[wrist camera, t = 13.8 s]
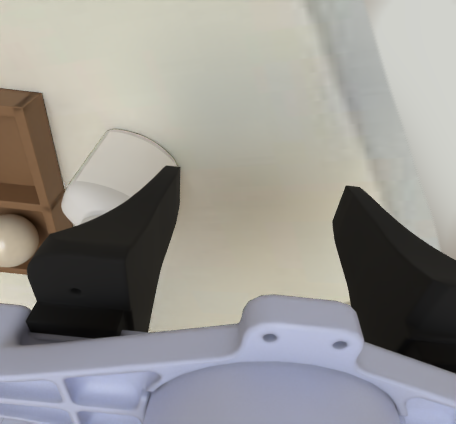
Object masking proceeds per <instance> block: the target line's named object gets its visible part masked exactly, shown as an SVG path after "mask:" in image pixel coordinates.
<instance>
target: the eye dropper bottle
mask: <svg viewBox="0 0 456 424" xmlns="http://www.w3.org/2000/svg"><path fill="white" fill-rule="evenodd" d="M166 165H167V166H176V167H177V164H176V162H175V160H174V159H173V157H172V156H171V155H170V154H169V153H168V152H167V151H166V150H164V149H163V148H162V147H161V146H159V145H158V144H156V143H155V142H153V141H152V140H150V139H148V138H146V137H144V136H142V135H139V134H136V133H133V132H129V131H125V130H119V129H112V130H108V131H107V132H106V133H105V134H104V135H103V137H102V138H101V139H100V141H99V142H98V143H97V145H96V146H95V148H94V149H93V150H92V152H91V153H90V155H89V156H88V157H87V159H86V160H85V162H84V163H83V164H82V166H81V167H80V169H79V170H78V171H77V173H76V174H75V176H74V177H73V179H72V180H71V182H70V183H69V185H68V187H67V189H66V191H65V193H64V196H63V199H62V203H61V208H62V211H63V213H64V214H65V216H66V217H67V218H68V219H69V220H70V221H71V222H72V223H73V224H74V225H75V226H77V225H80V224H82V223H85V222H88V221H90V220H92V219H95V218H97V217H99V216H101V215H103V214H105V213H107V212H108V211H110V210H112V209H114V208H116V207H117V206H119V205H121V204H122V203H124V202H125V201H127V200H128V199H129V198H131V197H132V196H133V195H134V194H136V193H137V192H138V191H139V190H141V189H142V188H143V187H144V186H145V185H146V184H147V183H148V182H149V181H151V180H152V179H153V178H154V177H155V176H156V175H157V174H158V173H159V172H160V171H161V169H162V168H163V167H165V166H166Z"/></svg>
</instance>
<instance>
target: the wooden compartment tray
mask: <svg viewBox="0 0 456 424" xmlns="http://www.w3.org/2000/svg"><path fill="white" fill-rule="evenodd" d="M64 193H65V191H64V187H63V183H62V178H61V174H60V170H59V166H58V161H57V157H56V153H55V148H54V144H53V140H52V135H51V131H50V127H49V123H48V118H47V114H46V110H45V105H44V101H43V97H42V93H36V92H28V91H19V90H11V89H2V88H0V215H2V214H16V215H20V216H23V217H25V218H27V219H28V220H30V221H31V222H32V223H33V224H34V225H35V227H36V229H37V231H38V234H39V246H38V248H37V250H38V249H39V247H40V246H41V244H42V243H43V242H44V240H45V239H46V238H47V237H48V236H49V234H51V233H55V232H58V231H61V230H65V229H68V228H71V227H73V226H72V222H71V221H70V220H69V219H68V218H67V217H66V216H65V214H64V213H63V211H62V208H61V203H62V199H63V196H64ZM36 252H37V251H36ZM36 252H35V253H36ZM34 255H35V254H34ZM34 255H33V256H34ZM33 256H32V257H31V258H30V259H29V260H28V261H26V262H25V263H23V264H21V265H18V266H15V267H0V272H7V273H17V274H26V275H27V267H28V264H29V262H30V261H31V259H32V258H33Z"/></svg>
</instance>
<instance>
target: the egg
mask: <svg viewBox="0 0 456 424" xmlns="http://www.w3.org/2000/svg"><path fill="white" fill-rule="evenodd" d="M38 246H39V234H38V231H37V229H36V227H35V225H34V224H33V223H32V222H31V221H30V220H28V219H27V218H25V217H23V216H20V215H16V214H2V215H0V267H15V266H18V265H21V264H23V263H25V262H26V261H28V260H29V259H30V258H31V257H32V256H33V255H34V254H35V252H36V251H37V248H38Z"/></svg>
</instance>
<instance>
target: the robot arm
mask: <svg viewBox="0 0 456 424" xmlns="http://www.w3.org/2000/svg"><path fill="white" fill-rule="evenodd" d="M179 205H180V167H176V166H167V165H166V166H165V167H163V168H162V169H161V171H160V172H159V173H158V174H157V175H156V176H155V177H154V178H153V179H152V180H151V181H149V182H148V183H147V184H146V185H145V186H144V187H143V188H142V189H141V190H139V191H138V192H137V193H136V194H134V195H133V196H132V197H131V198H129V199H128V200H127V201H125V202H124V203H122V204H121V205H119V206H117V207H116V208H114V209H112V210H110V211H108V212H107V213H105V214H103V215H101V216H99V217H97V218H95V219H92V220H90V221H88V222H85V223H82V224H80V225H77V226H74V227H71V228H68V229H65V230H61V231H58V232H55V233H51V234H49V236H48V237H47V238H46V239H45V240H44V242H43V243H42V244H41V246H40V247H39V249H38V250H37V252H36V253H35V255H34V256H33V258H32V259H31V261H30V262H29V264H28V267H27V275H28V279H29V282H30V284H31V287H32V289H33V292H34V295H35V297H36V300H37V302H36V304H35V306H34V308H33V309H32V311H31V310H30V309H29V308H27V307H25V306H21V305H13V304H3V303H0V424H456V260H454V259H452V258H450V257H449V256H447V255H445V254H443V253H442V252H440V251H438V250H437V249H435V248H433V247H432V246H430V245H429V244H427V243H426V242H424V241H423V240H421V239H420V238H418V237H417V236H416V235H414V234H413V233H412V232H410V231H409V230H408V229H406V228H405V227H404V226H403V225H401V224H400V223H399V222H398V221H397V220H395V219H394V218H393V217H392V216H391V215H390V214H389V213H388V212H386V211H385V210H384V209H383V208H382V207H381V206H380V205H379V204H378V203H377V202H376V201H375V200H374V199H373V198H372V197H371V196H369V195H368V194H367V193H366V192H365V191H364V190H363V189H361V188H360V187H354V186H346V187H345V189H344V192H343V195H342V197H341V200H340V203H339V205H338V208H337V211H336V213H335V216H334V219H333V221H332V223H333V232H334V239H335V244H336V247H337V251H338V255H339V258H340V261H341V265H342V268H343V272H344V275H345V279H346V282H347V286H348V290H349V296H350V302H351V306H350V305H348V304H344V303H341V302H338V301H332V300H323V299H313V298H303V297H294V296H284V295H275V294H274V295H261V296H259V297H257V298H254V299H252V300H250V301H249V302H248V303H247V305H246V306H245V308H244V309H243V313H242V318H241V320H240V322H239V323H238V324H229V325H219V326H210V327H200V328H191V329H181V330H172V331H162V332H153V333H148V329H149V323H150V318H151V313H152V308H153V303H154V298H155V293H156V289H157V284H158V279H159V275H160V270H161V267H162V263H163V260H164V257H165V254H166V252H167V249H168V246H169V243H170V240H171V237H172V234H173V231H174V228H175V225H176V221H177V216H178V210H179Z"/></svg>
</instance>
